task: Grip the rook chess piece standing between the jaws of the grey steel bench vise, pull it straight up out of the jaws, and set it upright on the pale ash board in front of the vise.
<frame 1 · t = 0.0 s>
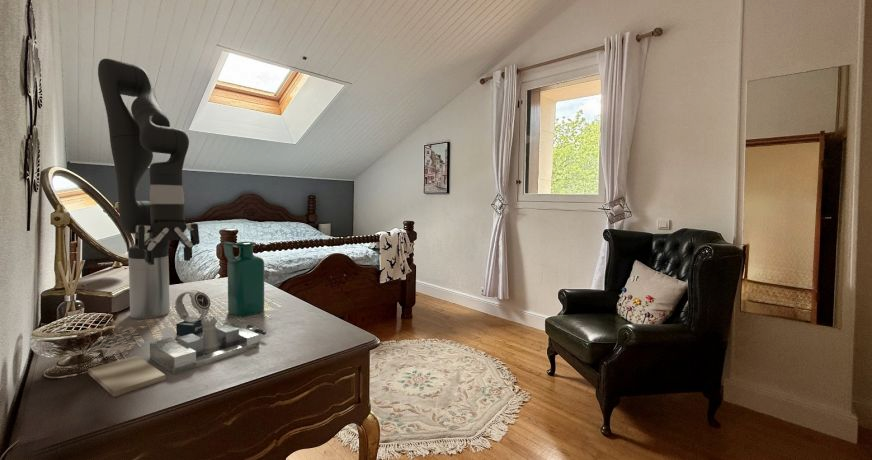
hand: (169, 262, 101), 17 cm above the table, tool pointing down, fingers open, 8 cm apart
pitcher: (244, 313, 115), on the table
board: (126, 376, 74), on the table
vise: (209, 351, 87), on the table
rook chess piece: (209, 352, 87), resting in vise
watch: (193, 333, 97), on the table
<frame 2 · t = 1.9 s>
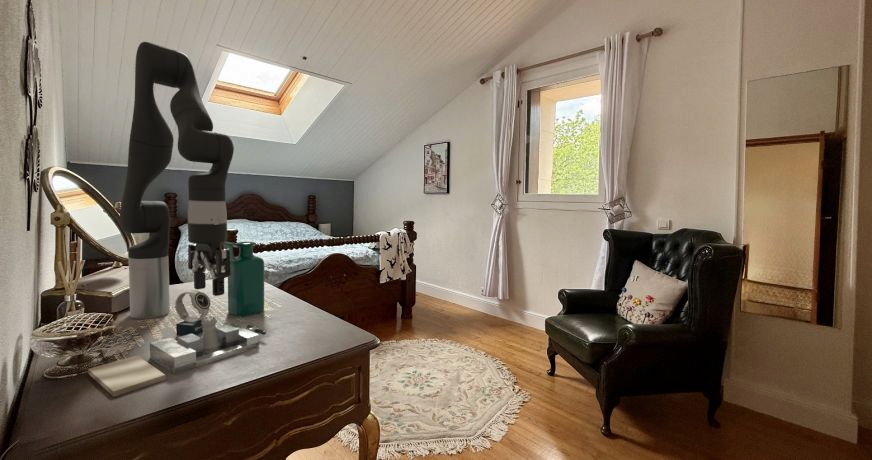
hand: (209, 291, 85), 14 cm above the table, tool pointing down, fingers open, 8 cm apart
nothing on the table moved.
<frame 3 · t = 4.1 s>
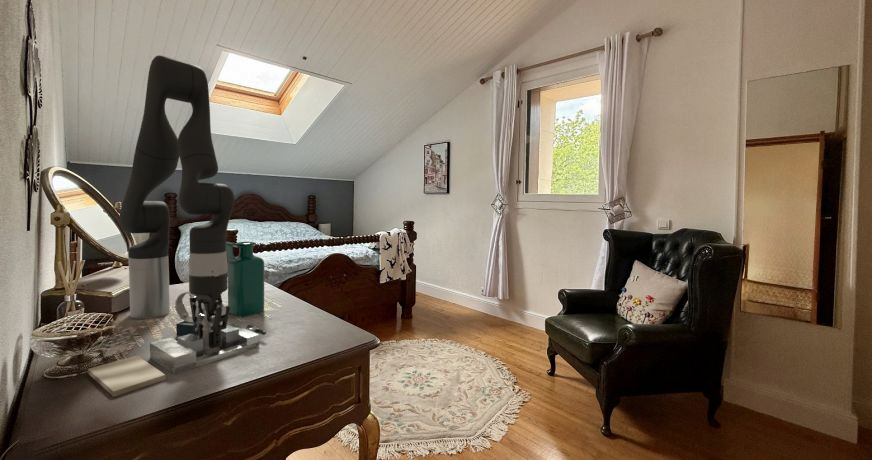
hand: (209, 343, 86), 2 cm above the table, tool pointing down, fingers closed on rook chess piece, 4 cm apart
rook chess piece: (209, 352, 87), resting in vise, touching gripper
everything else where it was.
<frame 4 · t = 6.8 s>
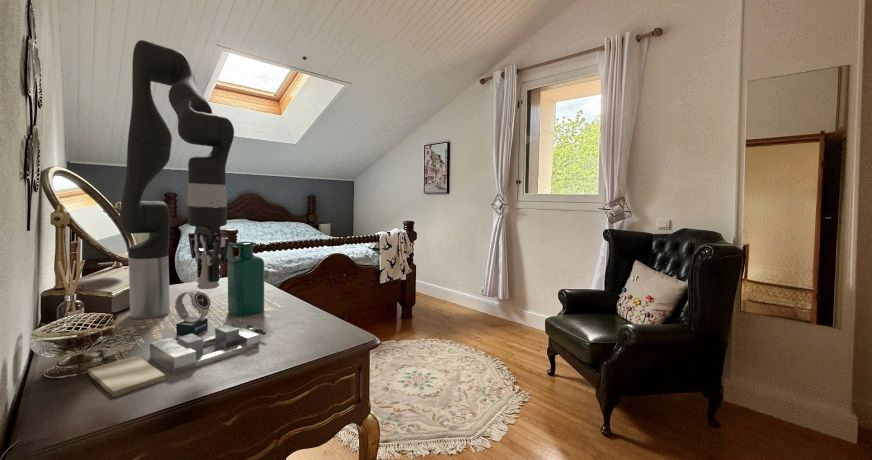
hand: (208, 279, 85), 17 cm above the table, tool pointing down, fingers closed on rook chess piece, 4 cm apart
rook chess piece: (208, 288, 85), point 15 cm above the table, touching gripper
everything else where it was.
when the fingers open (5 cm above the table, at t = 10.0 s): rook chess piece drops 2 cm, resting on board.
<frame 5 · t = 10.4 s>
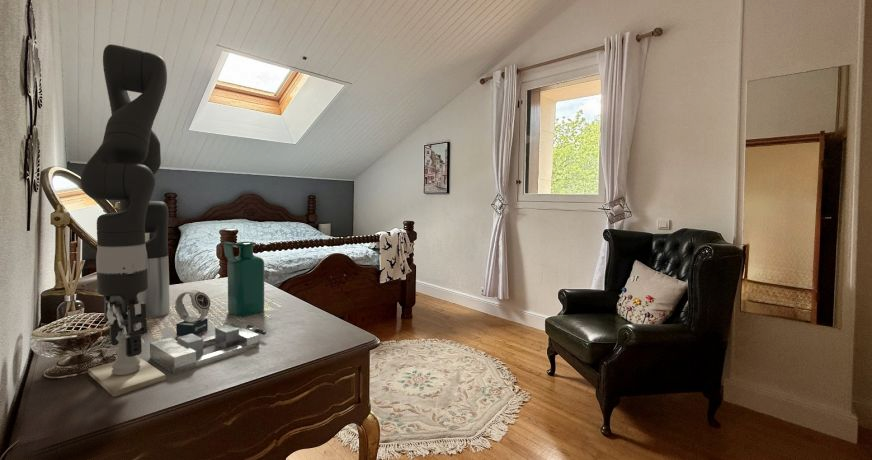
hand: (125, 349, 73), 6 cm above the table, tool pointing down, fingers open, 8 cm apart
rook chess piece: (126, 371, 74), point 1 cm above the table, touching board
everything else where it was.
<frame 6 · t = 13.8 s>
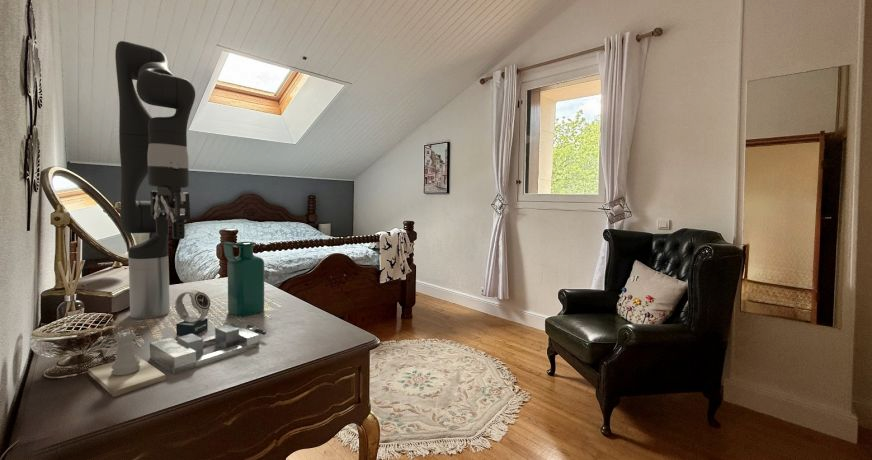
hand: (170, 237, 86), 26 cm above the table, tool pointing down, fingers open, 8 cm apart
nothing on the table moved.
at the end: rook chess piece inside the target area on the board (0.2 cm from its centre), point 0.8 cm above the board's base; rook chess piece tilted 0°; the gripper is holding nothing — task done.
